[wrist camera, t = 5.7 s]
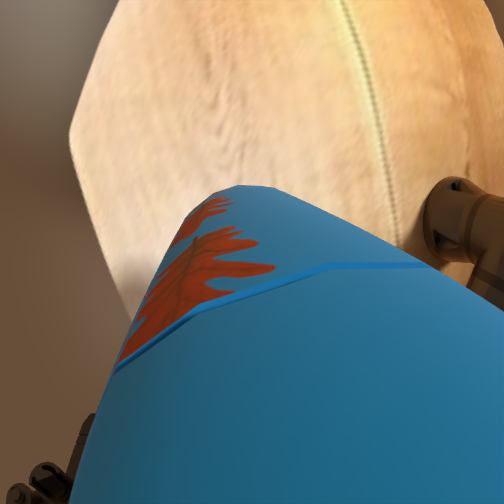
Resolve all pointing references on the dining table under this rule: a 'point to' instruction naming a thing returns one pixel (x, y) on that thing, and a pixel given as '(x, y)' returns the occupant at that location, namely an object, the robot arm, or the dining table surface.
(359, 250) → the thermos
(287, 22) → the dining table surface
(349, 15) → the dining table surface
